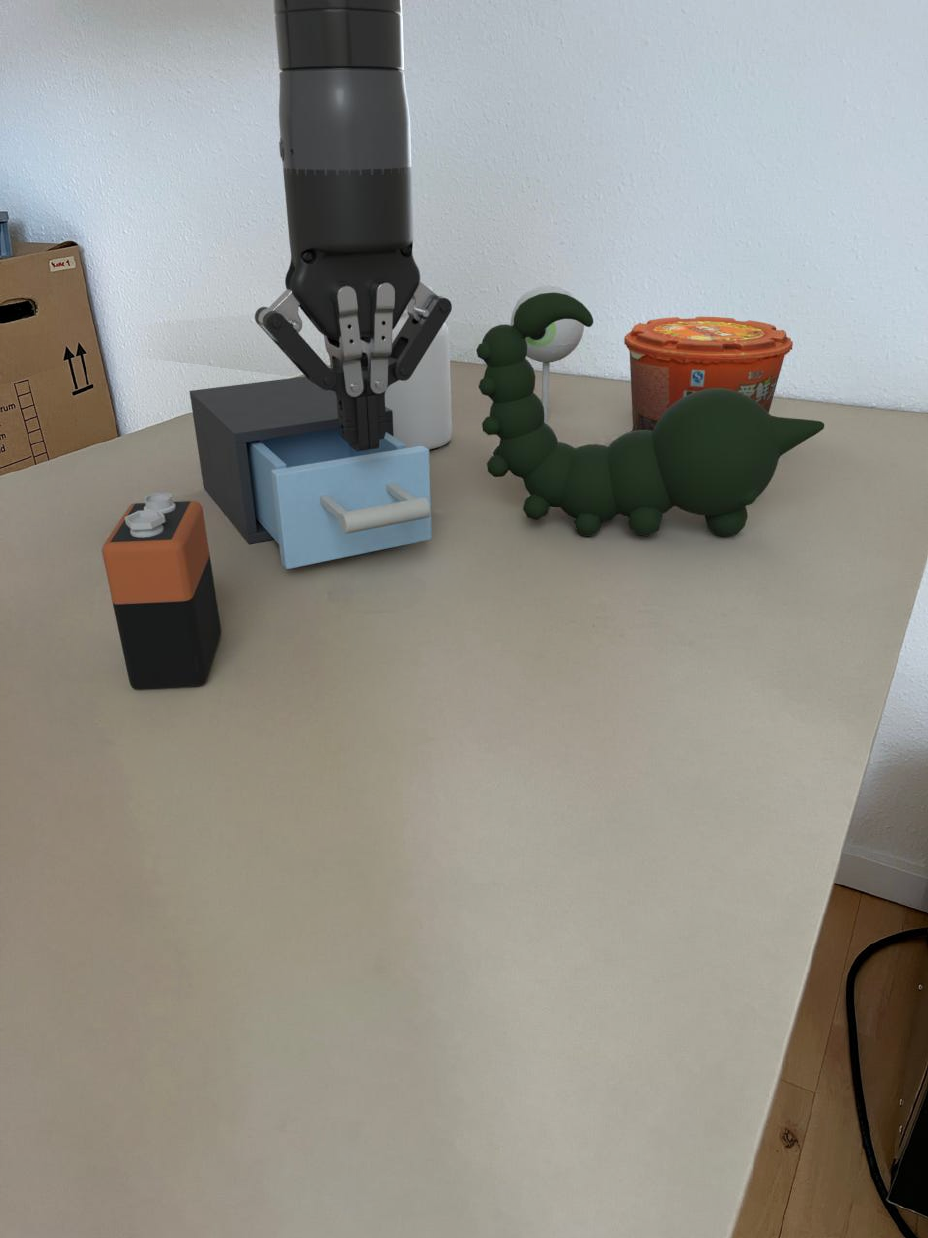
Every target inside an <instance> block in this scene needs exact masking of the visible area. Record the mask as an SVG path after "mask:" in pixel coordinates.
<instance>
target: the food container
mask: <svg viewBox="0 0 928 1238" xmlns="http://www.w3.org/2000/svg"><path fill="white" fill-rule="evenodd" d="M623 340H624V346H626V348H627V350H628V351H629V371H630V389H631V390H630V392H631V394H630V395H631V409H632V410H631V414H632V431H636V430H651V431H653V429H654V427H655V425H656V423H657V422H658V420H659V419H660V417H661V416H662V415H663V414H664V412H665V411H666V410H667V409H668V408H669V407H670V406H672V405H673V404H674V403H675V402H677V401H678V400H679V399H681V398H683V397H685V396H687V395H689V394H691V393H694V392H697V391H701V390H704V389H711V388H723V389H729V390H733V391H737V392H740V393H742V394H744V395H746V396H748V397H750V398H752V399H753V400H755V401H756V402H757V403H759V404H760V405H761V406H762V407H763V408H764V409H765V410H766V411H767V412H768V413H769V414H770V410H771V407H772V404H773V403H772V402H773V399H774V395H775V392H776V388H777V386H778V385H777V384H778V382H779V377H780V374H781V371H782V367H783V363H784V359H785V356H786V355H788V354H789V353H790V352H791V350H793V346H794V342H793V341H792V338H791V337H788V336H787V332H786V331H785V330H784V329H777V327H776V325H774V324H771V323H766V322H761V321H757V320H745V321H744V320H743V321H742V320H736V319H735V318H733V317H722V316H721V317H719V316H696V317H695V318H680V317H677V316H675V317H663V318H655V319H649V320H647V322H646V323H642V322H638V323H637V324H635V325H633V327H632V328H631V331H629V332H628V333H626V335H625V336H624V338H623ZM788 356H790V355H788Z"/></svg>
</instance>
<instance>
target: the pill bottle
mask: <svg viewBox="0 0 928 1238" xmlns="http://www.w3.org/2000/svg"><path fill="white" fill-rule="evenodd" d="M424 285H425V286H426V287H428V288H429V289H430V290H431V291H432V292H434V288H433V286H431V285H428V284H424ZM408 305H409V304H408ZM408 305H407V307H406V309H405V311H404V313H403V314H402V316H401V318H400V320H399V321H398V323H397V325H396V327H395V328H394V329H393V330H392V343H393V342H394V340H395V338H396V337H397V335H398V333H399V332H400V330H401V329H402V327H403V325H404V324H405V322H406V320H407V319H408V317H409V315H408V313H407V308H408ZM450 357H451V354H450V331H449V328H448V324H447V323H446V321H445V322H444V324H443V325H442V327H441V329H440V330H439V332H438V333H437V335H436V337H435V338H434V340H433V342H432V343H431V345H430V346H429V348H428V350H427V351H426V353H425V354H424V356H423V358H422V359H421V361H420V362H419V364H418V366H417V367H416V369H415V371H414V372H413V374H412V375H411V377H410V378H409V379H408V380H406V381H401V380H399V381H397V382H395V383H393V384H391V385H390V386H389V387H388V388H387V389H386V391H385V407H387V408H389V409H390V410H392V411H393V420H392V421H393V433H394V437H395V438H396V439H398V440H399V441H401V442H402V443H404V444H406V448H411V447H417V446H424V447H425V448H427V449H428V450H429V451H430V450H433V449H437V448H440V447H443V446H445V445H447V444H448V443H449V442H450V441H451V439H452V433H453V432H452V431H453V420H452V418H453V417H452V390H451V389H452V388H451V358H450Z"/></svg>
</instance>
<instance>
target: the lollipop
mask: <svg viewBox="0 0 928 1238" xmlns="http://www.w3.org/2000/svg"><path fill="white" fill-rule="evenodd" d="M553 292H555V293H561V294H566V295H569V296H571V297H573V298H575V299H577V298H576V297H575V296H574V294H572V293H571V292H570V291H569V290H567V289H566V288H563V287H561V286H556V285H550V284H547V285H540V286H537V287H533V288H532V289H530V290H528V291H527V292H525V293H524V294H523V295H521V296H520V297H519V299H518V300H517V302H516V304H515V306H514V307H513V311H512V314H511V317H510V325H511V326H513V324H514V315H515V312H516V310H517V309H518V307H519V306H520V304H522V303H523V302H524V301H526V300H527V299H529V298H531V297H534V296H536V295H539V294H543V293H553ZM584 330H585V325H583V324H582V323H580V322H578V321H577V320H573V319H562V320H558V321H555V322H553V323H552V324H550V325H549V326H548V327H547V328H546V329H545V330H544V331H542V332H541V333H539V334H537V335H535V336H532V337H526V338H525V339H526V342H527V355H526V358H529V359H531V360H532V361H535V362H538V363H542V373H541V375H542V376H541V378H542V379H541V402H542V404H543V407H544V417H545V420H544V423H546V424H547V425H548V426H549V403H550V401H549V397H550V368H551V367H550V366H551V363H555V362H557V361H558V362H559V361H561V360H563V359H565V358H566V357H568V356H569V355H570V354H571V353H573V352H574V351H575V349H576V348H577V347H578V345H579V344H580V343H581V341H582V338H583V335H584Z"/></svg>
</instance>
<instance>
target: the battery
mask: <svg viewBox="0 0 928 1238" xmlns="http://www.w3.org/2000/svg"><path fill="white" fill-rule="evenodd" d="M143 500H144V502H136V503H131V505H129V506H128V507H127V509H126V510H125V512H124V513H123V515H122V516H121V518H120V520H118V523H117V524H116V526H115V527H114V529H113V530H112V531H111V533H110V534H109V536H108V538H107V539H106V541H105V542H104V544H103V545H102V547H101V553H102V554H101V555H102V559H103V563H104V569H105V573H106V578H107V583H108V587H109V592H110V596H111V602H112V606H113V610H114V611H113V612H114V616H115V619H116V620H115V621H116V625H117V629H118V630H117V631H118V634H119V639H120V644H121V649H122V654H123V659H124V664H125V668H126V669H125V670H126V672H127V677H128V682H129V685H130V687H131V688H132V689H134V690H151V689H152V690H153V689H154V690H156V689H171V688H172V689H175V688H191V687H193V688H194V687H201V686H203V685H204V684H205V683H206V682H207V679H208V675H209V672H210V670H211V666H212V663H213V660H214V656H215V654H216V650H217V647H218V644H219V641H220V637H221V634H222V628H221V627H222V626H221V621H220V614H219V606H218V600H217V593H216V587H215V581H214V573H213V568H212V562H211V553H210V547H209V541H208V534H207V528H206V521H205V516H204V508H203V506H202V504H201V503H200V502H199V501H197V500H185V501H173V495H172V494H171V493H168V492H155V493H151V494H148V495H146V496H144V499H143Z"/></svg>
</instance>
